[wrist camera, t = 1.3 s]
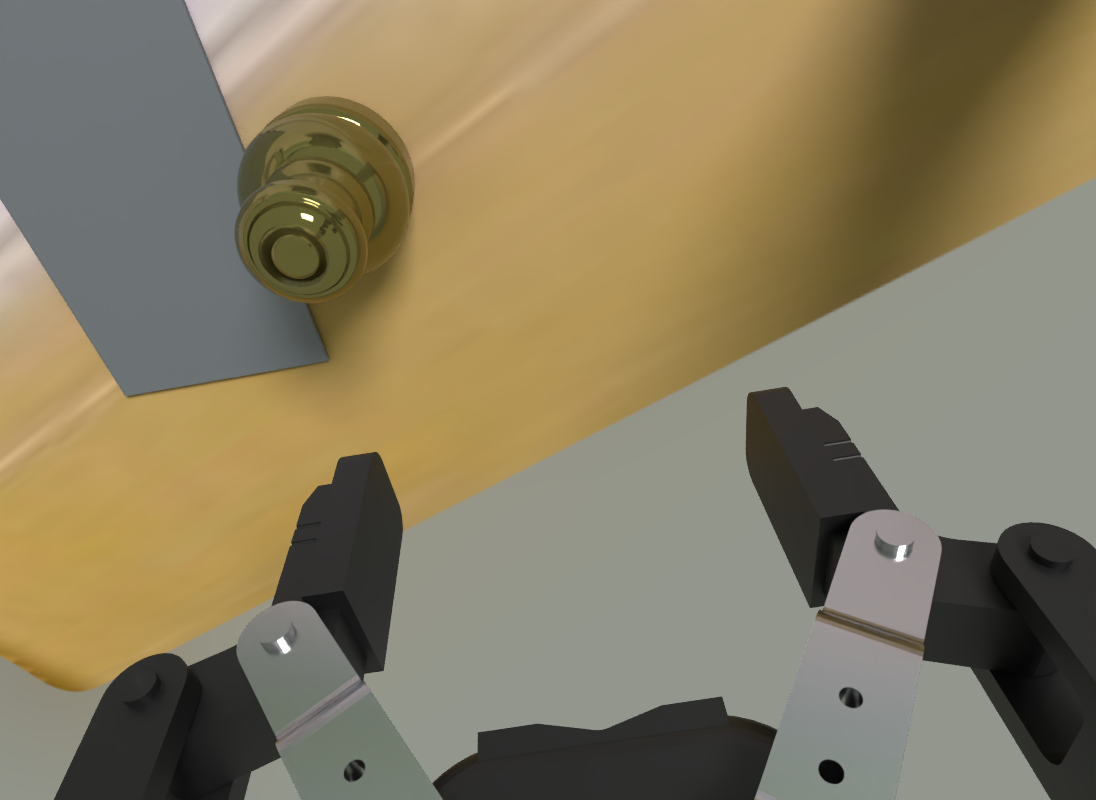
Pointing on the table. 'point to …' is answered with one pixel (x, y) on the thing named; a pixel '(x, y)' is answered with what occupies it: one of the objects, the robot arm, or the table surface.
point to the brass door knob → (322, 199)
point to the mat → (136, 192)
